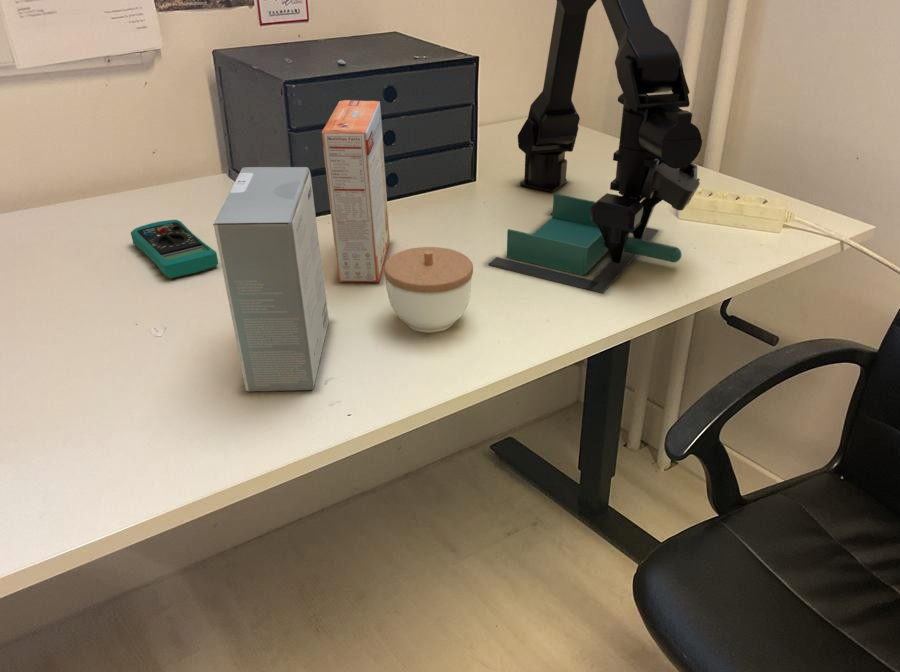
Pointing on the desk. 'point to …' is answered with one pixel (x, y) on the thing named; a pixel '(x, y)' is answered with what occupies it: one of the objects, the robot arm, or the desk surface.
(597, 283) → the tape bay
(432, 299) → the trinket box
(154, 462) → the desk surface
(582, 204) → the dustpan
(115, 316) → the desk surface
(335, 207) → the cracker box
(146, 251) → the digital multimeter
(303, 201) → the hard drive box
